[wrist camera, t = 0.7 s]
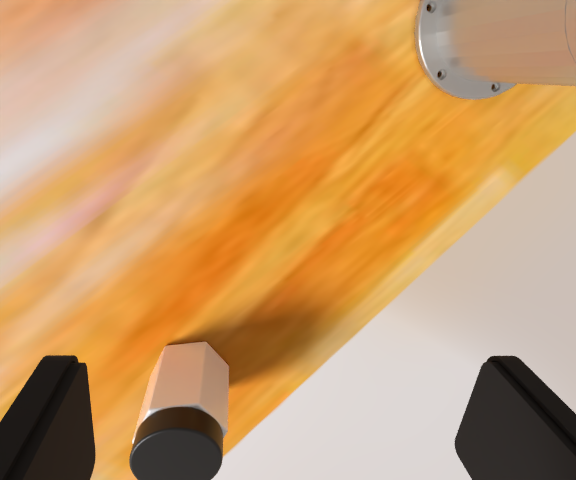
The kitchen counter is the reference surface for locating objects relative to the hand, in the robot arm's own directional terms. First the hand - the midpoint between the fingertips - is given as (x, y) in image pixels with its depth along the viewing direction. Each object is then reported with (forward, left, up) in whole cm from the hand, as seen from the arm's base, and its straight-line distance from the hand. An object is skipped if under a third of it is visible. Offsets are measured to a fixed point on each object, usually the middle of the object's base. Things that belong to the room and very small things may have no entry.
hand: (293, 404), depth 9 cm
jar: (+24, +11, -31) cm, 40 cm away
